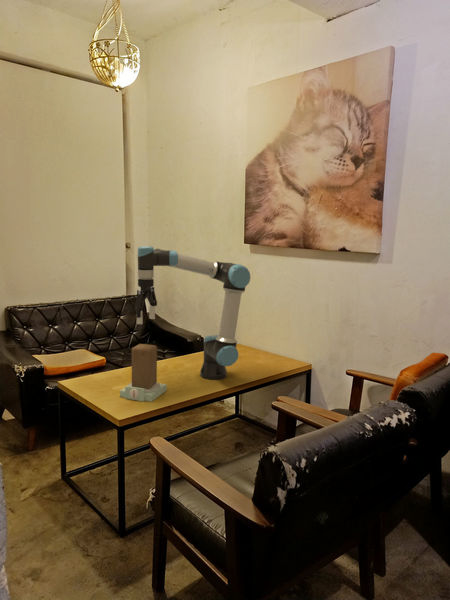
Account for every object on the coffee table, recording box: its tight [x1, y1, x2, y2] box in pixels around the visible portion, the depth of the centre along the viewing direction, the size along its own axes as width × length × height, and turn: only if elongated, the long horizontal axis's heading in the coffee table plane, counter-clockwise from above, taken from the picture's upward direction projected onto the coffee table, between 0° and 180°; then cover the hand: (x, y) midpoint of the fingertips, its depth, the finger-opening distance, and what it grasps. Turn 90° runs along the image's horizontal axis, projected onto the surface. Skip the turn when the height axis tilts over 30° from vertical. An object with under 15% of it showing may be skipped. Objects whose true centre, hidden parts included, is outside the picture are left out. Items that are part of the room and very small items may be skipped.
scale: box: [119, 381, 168, 403], centre depth 226 cm, size 17×19×6 cm
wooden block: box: [131, 343, 158, 389], centre depth 226 cm, size 10×10×20 cm
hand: (146, 321), depth 224 cm, fingers open, 13 cm apart
